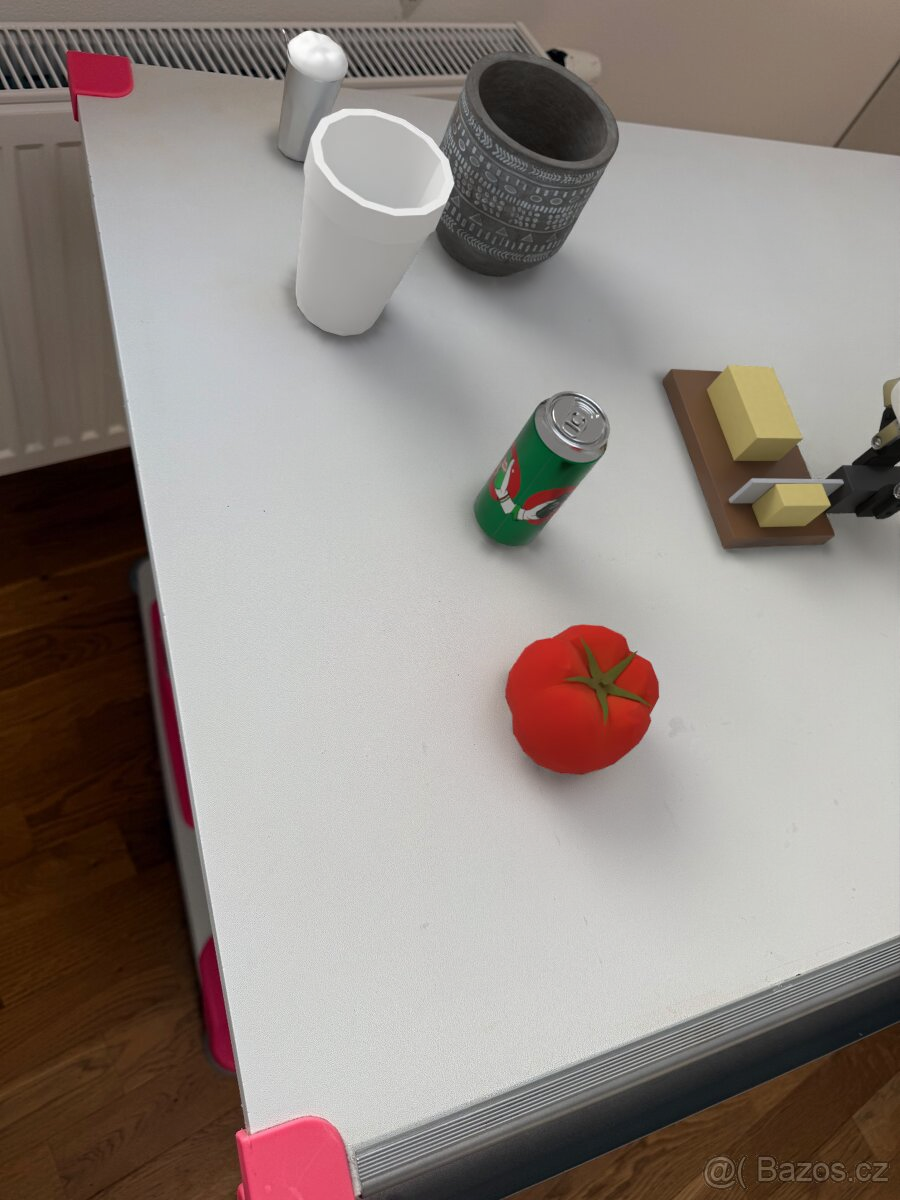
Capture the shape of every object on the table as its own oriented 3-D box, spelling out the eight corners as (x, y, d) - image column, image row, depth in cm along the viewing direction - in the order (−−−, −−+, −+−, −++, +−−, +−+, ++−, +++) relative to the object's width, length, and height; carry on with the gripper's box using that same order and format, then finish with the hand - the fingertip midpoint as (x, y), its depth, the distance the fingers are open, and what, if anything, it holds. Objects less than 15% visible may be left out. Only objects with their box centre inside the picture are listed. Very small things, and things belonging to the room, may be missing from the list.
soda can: (548, 517, 70) (628, 419, 60) (517, 563, 67) (595, 469, 57) (491, 476, 70) (562, 371, 60) (458, 521, 67) (526, 419, 57)
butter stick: (749, 391, 82) (773, 366, 79) (778, 461, 79) (803, 438, 76) (706, 389, 80) (728, 364, 77) (733, 461, 77) (757, 437, 74)
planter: (384, 201, 79) (433, 60, 68) (493, 173, 85) (554, 39, 75) (470, 312, 77) (534, 184, 66) (575, 274, 83) (650, 152, 72)
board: (757, 384, 85) (767, 373, 83) (823, 544, 79) (835, 535, 77) (661, 380, 81) (671, 368, 80) (723, 548, 75) (734, 538, 73)
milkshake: (251, 126, 78) (273, 8, 70) (313, 127, 80) (342, 14, 72) (269, 168, 77) (293, 53, 68) (331, 168, 79) (362, 56, 71)
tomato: (507, 792, 60) (558, 756, 53) (479, 659, 63) (524, 609, 57) (637, 779, 63) (700, 743, 57) (604, 653, 67) (659, 606, 60)
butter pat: (796, 504, 77) (822, 483, 75) (805, 526, 77) (831, 505, 74) (750, 505, 76) (775, 483, 73) (759, 527, 75) (785, 506, 72)
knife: (885, 488, 82) (916, 466, 79) (896, 513, 81) (927, 491, 78) (724, 488, 75) (751, 463, 72) (734, 514, 74) (762, 490, 71)
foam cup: (250, 270, 71) (283, 119, 60) (352, 242, 76) (400, 98, 65) (319, 367, 69) (366, 230, 58) (420, 333, 74) (480, 200, 63)
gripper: (1147, 454, 62) (934, 582, 78) (1036, 262, 68) (859, 416, 84) (1067, 454, 59) (862, 587, 75) (959, 253, 66) (790, 415, 81)
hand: (862, 496), depth 79 cm, fingers closed on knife, 2 cm apart
